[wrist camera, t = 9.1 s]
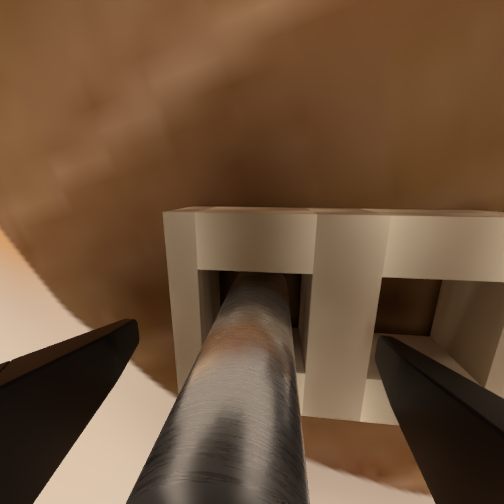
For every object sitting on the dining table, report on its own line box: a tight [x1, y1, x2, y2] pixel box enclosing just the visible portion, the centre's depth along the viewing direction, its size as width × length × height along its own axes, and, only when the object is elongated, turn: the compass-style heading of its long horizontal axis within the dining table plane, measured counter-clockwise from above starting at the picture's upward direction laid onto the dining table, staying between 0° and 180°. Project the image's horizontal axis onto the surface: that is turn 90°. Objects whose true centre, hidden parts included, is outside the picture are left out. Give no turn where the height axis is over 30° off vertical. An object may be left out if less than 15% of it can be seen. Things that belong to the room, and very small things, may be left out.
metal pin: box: [126, 271, 310, 504], centre depth 8 cm, size 3×3×10 cm
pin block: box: [163, 206, 504, 425], centre depth 11 cm, size 14×9×4 cm, turn 90°
